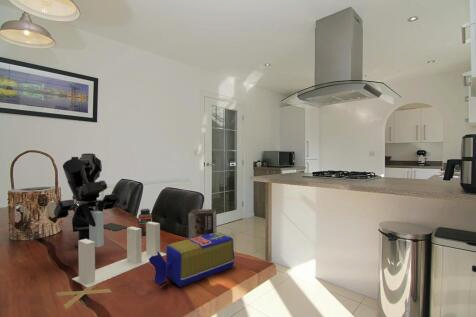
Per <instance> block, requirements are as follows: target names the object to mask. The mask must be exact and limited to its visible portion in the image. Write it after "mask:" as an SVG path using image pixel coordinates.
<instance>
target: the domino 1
mask: <svg viewBox="0 0 476 317" xmlns="http://www.w3.org/2000/svg"><path fill="white" fill-rule="evenodd" d="M77 243H78V249H77V250H78V276H79V279H80V280H81V281H83V282H85V283H87V284H89V283H91V282H94V281H95V270H96V252H95V251H96V250H95V249H96V247H95V242H94V241H91V240H88V239H83V240H79V241H78V240H77Z"/></svg>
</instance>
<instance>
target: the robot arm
mask: <svg viewBox="0 0 476 317" xmlns="http://www.w3.org/2000/svg"><path fill="white" fill-rule="evenodd" d="M62 168H63V172H64V174H65V177H66V180H67V184H68V187H69V188H70V191H71V193H72V197H71V198H72V199H66V200H59V201H58V202H57V204H56V206H55V208H54V211H53V215H54V217H55V219H63V218H67V217H68V216H69V213H70V211H73V216H72V217H71V218H72V220H71V225H72V232H73V233H76V232H77V242H76V243H74V244H73V245H74V246H75V247H78V241H79V240H83V239H88V240H89V224H90V225H91V226H93V227H95V225H96V224H95V221H94V219H93V217H92V215H91V213H90V211H93V210H97V211H102V212H103V213H104V210H105V211H106V210H113V208H114V207H115V206H116V205H117V204H118V202H119V200H120V197H119V195H118V194H117V193H110V194H105V195H104V196H103V198H102V199H98V198H99V197H100V193H101V192H104V191H105V190H107V189H108V184H107V182H106V181H105V180H104V179H103V180H99V181H97V180H98V179H99V177H101V172H102V170H103V164H102V160H101V159H99V158H98V157H97V156H96V154H95V153H82V154H81V156H80V158H79V156H71V157H70V159H68V160H66V161H65V162H63V164H62ZM74 200H75V201H74Z"/></svg>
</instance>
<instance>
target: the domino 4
mask: <svg viewBox="0 0 476 317" xmlns="http://www.w3.org/2000/svg"><path fill="white" fill-rule="evenodd" d="M145 239H146V240H145V243H146V244H145V246H146V247H145V248H146V250H145V251H146V253H147V254H150V255H153V256H156V255H158V252H159V253H160V252H161V223H159V222H155V221H152V222H147V223H146V235H145Z"/></svg>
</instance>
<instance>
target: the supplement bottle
mask: <svg viewBox="0 0 476 317" xmlns="http://www.w3.org/2000/svg"><path fill="white" fill-rule="evenodd" d="M137 219H138V220H137V221H138V222H137V223H138V224H137V226H138V227H137V228H141V236H146V223H147V222H153V214H152V213H151V209H150V208H141V209H140V214H138V218H137Z"/></svg>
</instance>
